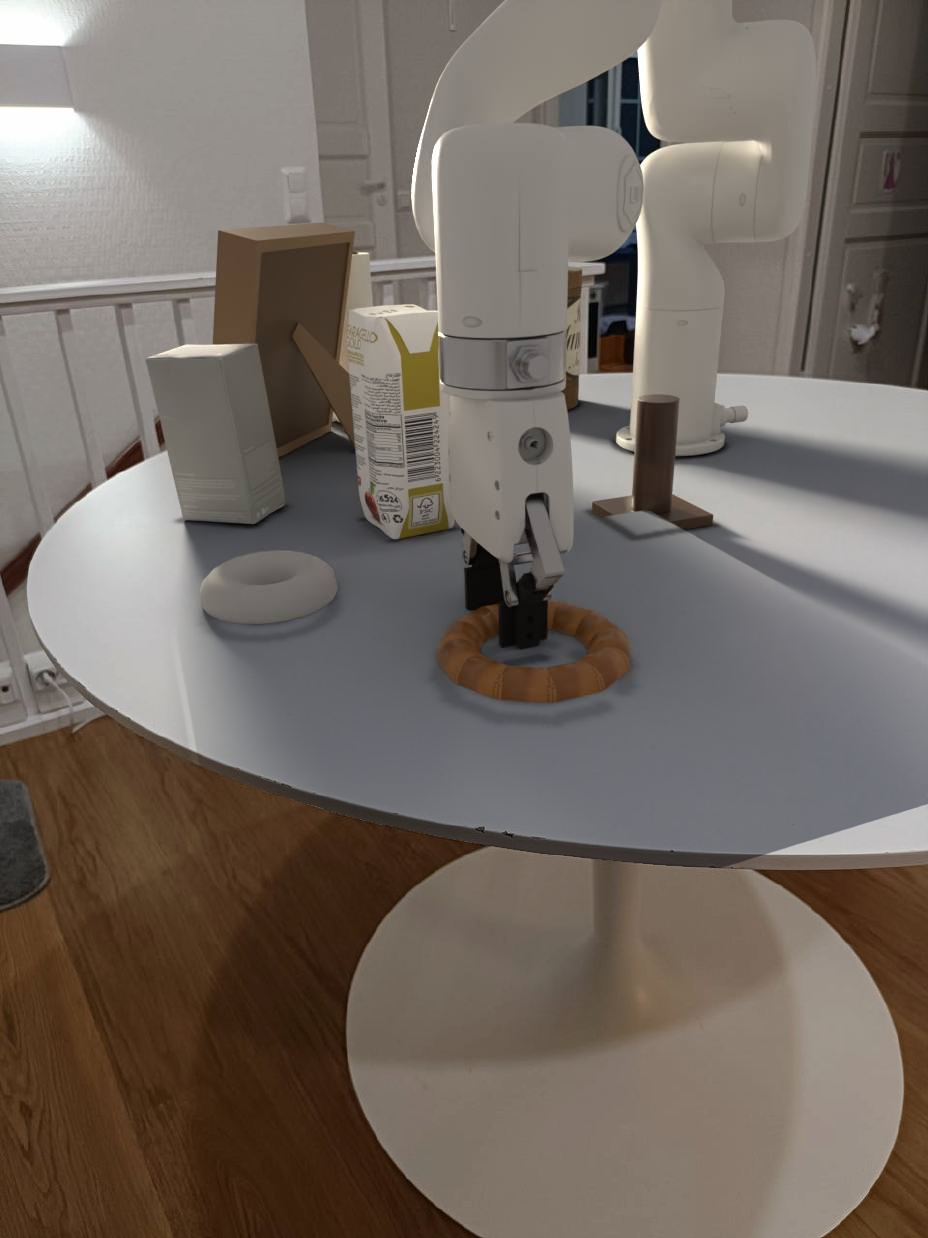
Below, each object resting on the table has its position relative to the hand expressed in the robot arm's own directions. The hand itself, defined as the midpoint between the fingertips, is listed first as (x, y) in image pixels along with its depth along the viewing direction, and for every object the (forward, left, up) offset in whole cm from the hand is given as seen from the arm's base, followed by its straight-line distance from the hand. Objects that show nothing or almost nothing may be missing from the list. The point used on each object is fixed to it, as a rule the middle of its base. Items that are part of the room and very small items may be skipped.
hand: (504, 632), depth 60 cm
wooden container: (-32, -67, -1) cm, 75 cm away
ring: (0, +5, +1) cm, 5 cm away
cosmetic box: (+14, -35, -1) cm, 38 cm away
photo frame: (+2, -54, -1) cm, 54 cm away
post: (-22, -17, 0) cm, 28 cm away
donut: (+14, -11, -1) cm, 18 cm away
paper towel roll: (-7, -69, -1) cm, 70 cm away
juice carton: (-1, -25, -1) cm, 25 cm away
